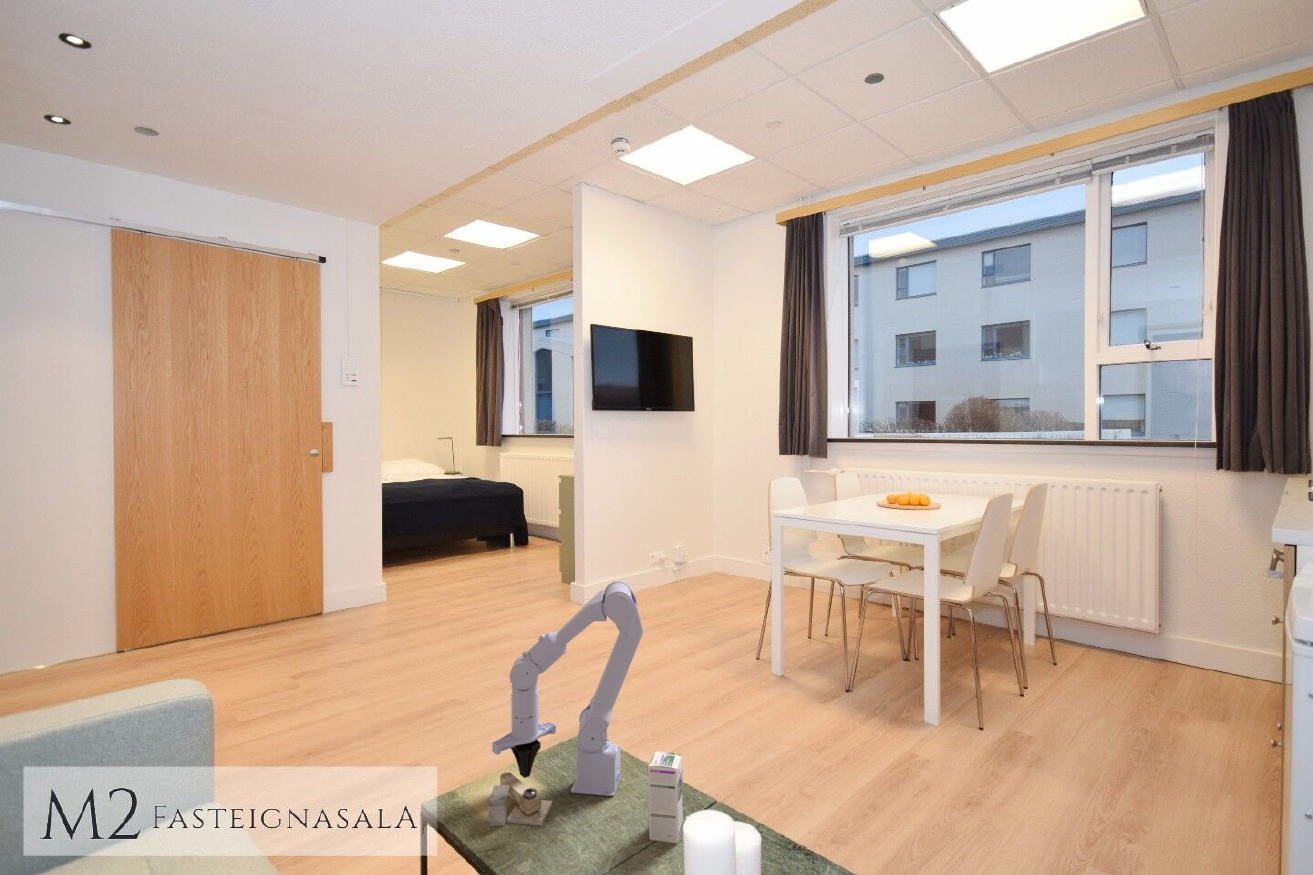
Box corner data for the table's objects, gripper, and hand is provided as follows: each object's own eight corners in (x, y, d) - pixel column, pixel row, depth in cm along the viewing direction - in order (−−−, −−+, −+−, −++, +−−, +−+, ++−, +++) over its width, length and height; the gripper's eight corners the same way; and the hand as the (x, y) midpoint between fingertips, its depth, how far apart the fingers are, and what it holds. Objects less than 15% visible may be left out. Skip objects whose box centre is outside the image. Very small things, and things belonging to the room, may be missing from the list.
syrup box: (678, 844, 122) (678, 768, 121) (647, 840, 123) (647, 764, 122) (683, 825, 127) (683, 752, 127) (654, 822, 128) (654, 749, 128)
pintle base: (552, 804, 134) (552, 783, 134) (541, 825, 127) (541, 803, 127) (520, 801, 135) (519, 780, 135) (507, 822, 128) (507, 800, 128)
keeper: (509, 809, 133) (509, 784, 132) (504, 825, 127) (504, 800, 127) (494, 809, 132) (494, 785, 132) (489, 826, 127) (489, 800, 127)
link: (541, 808, 131) (541, 796, 131) (527, 814, 129) (527, 802, 129) (510, 781, 141) (510, 770, 141) (496, 787, 139) (496, 775, 138)
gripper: (544, 697, 148) (544, 756, 148) (485, 716, 138) (485, 779, 139) (561, 708, 143) (561, 768, 143) (501, 728, 133) (501, 793, 133)
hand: (524, 775), depth 140 cm, fingers closed
